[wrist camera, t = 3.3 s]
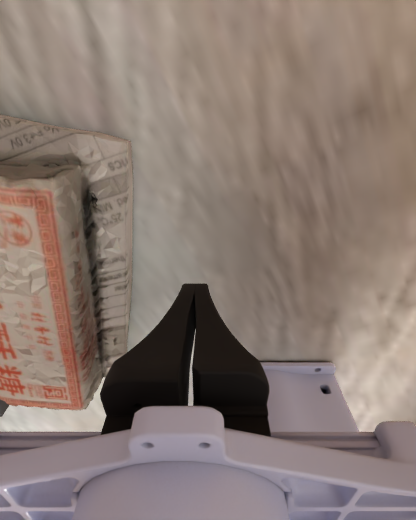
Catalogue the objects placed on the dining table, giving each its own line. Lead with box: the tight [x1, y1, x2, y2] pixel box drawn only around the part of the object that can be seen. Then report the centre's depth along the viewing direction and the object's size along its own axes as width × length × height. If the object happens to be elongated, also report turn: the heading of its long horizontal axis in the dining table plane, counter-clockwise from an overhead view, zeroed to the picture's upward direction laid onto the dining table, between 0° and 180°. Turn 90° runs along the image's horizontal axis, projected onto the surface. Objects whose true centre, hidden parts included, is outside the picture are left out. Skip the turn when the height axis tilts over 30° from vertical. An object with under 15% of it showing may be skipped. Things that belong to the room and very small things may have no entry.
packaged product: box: [0, 115, 133, 410], centre depth 16 cm, size 18×5×10 cm
